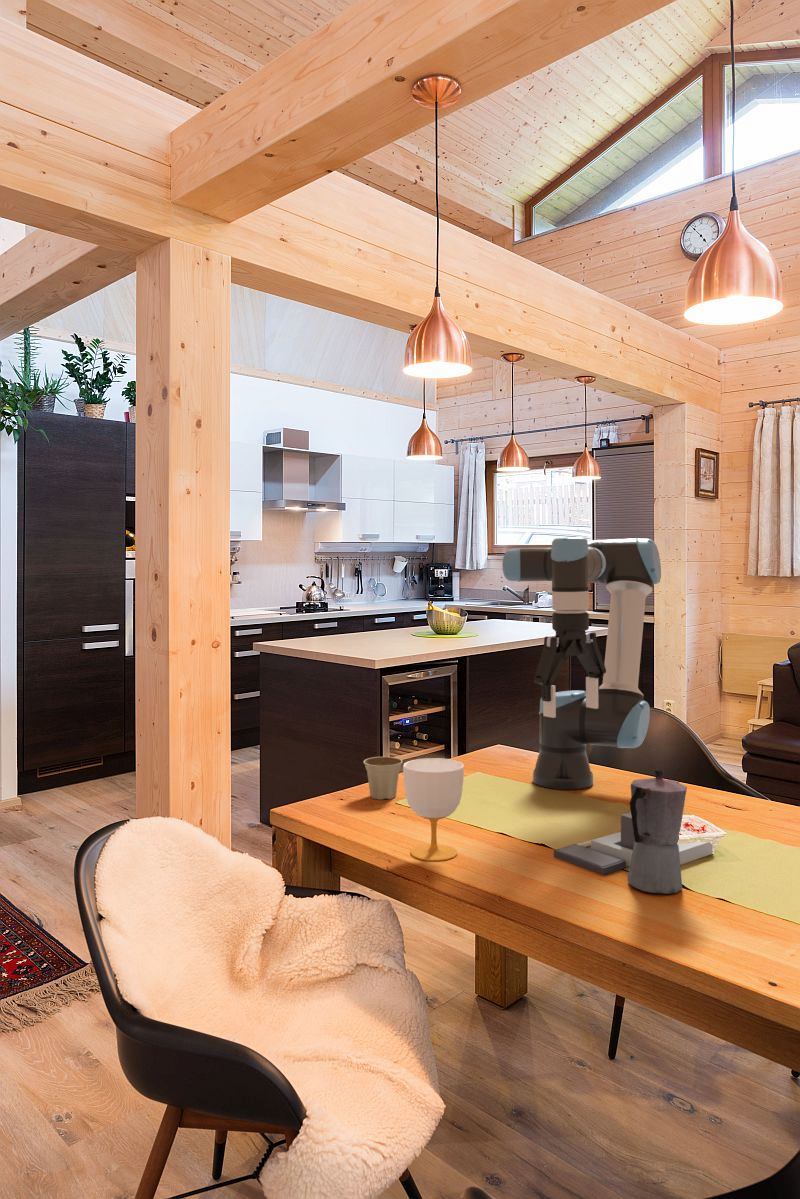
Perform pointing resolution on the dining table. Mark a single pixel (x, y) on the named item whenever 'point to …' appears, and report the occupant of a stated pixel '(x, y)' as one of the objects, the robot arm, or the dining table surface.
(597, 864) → the phone
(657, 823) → the moka pot
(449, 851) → the cup
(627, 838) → the charger block
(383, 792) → the flower pot
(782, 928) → the dining table surface
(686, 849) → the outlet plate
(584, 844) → the cable
